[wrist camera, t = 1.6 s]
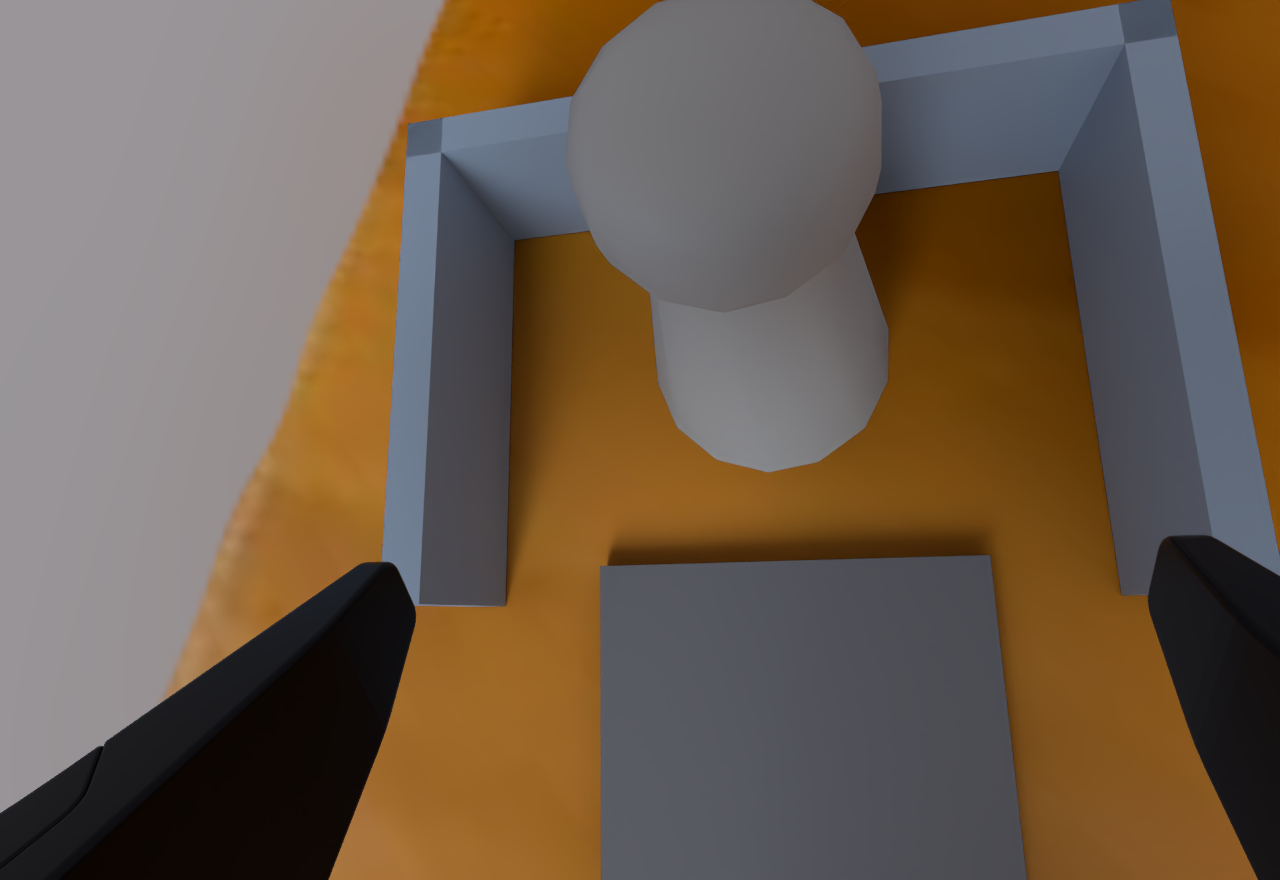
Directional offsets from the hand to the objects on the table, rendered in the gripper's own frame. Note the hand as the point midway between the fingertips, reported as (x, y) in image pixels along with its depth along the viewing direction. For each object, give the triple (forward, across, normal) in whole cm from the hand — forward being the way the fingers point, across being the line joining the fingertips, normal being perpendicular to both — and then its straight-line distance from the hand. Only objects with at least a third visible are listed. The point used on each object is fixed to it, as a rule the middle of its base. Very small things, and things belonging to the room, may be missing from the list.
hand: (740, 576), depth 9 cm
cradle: (+12, 0, +4) cm, 13 cm away
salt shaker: (+13, 0, +4) cm, 13 cm away
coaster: (+5, 0, +11) cm, 13 cm away
